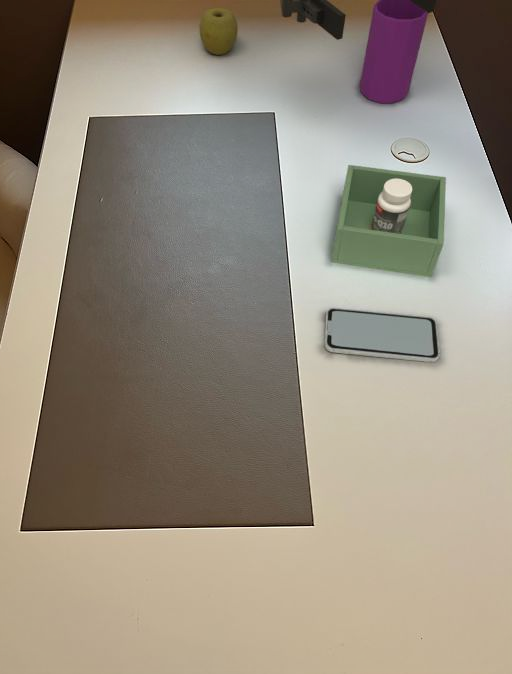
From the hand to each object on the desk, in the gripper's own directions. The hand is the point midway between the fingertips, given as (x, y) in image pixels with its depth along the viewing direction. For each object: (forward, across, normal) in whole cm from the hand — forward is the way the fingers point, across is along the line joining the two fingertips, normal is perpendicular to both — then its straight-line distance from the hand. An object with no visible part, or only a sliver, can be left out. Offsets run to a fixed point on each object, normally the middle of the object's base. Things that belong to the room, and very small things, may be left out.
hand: (388, 14), depth 75 cm
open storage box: (+8, -1, -30) cm, 31 cm away
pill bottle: (+8, -1, -29) cm, 30 cm away
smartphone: (+24, +11, -30) cm, 40 cm away
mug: (-27, -26, -30) cm, 48 cm away
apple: (-53, -3, -29) cm, 61 cm away
